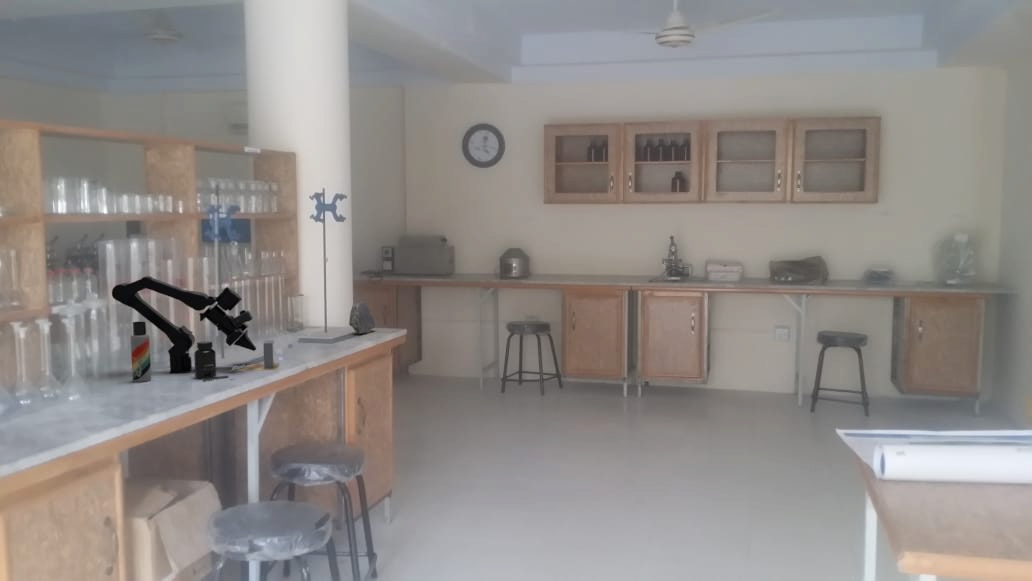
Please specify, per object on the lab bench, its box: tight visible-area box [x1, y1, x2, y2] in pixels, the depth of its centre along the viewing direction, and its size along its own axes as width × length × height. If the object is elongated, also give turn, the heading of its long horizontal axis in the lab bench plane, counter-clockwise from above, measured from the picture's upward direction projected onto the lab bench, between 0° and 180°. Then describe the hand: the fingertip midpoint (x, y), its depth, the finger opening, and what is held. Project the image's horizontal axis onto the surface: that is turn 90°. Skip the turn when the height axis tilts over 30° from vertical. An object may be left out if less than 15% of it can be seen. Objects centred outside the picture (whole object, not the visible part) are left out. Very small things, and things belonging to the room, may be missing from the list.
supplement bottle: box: [193, 340, 217, 380], centre depth 279 cm, size 7×7×12 cm
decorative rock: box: [348, 300, 376, 334], centre depth 374 cm, size 16×7×15 cm, turn 157°
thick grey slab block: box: [262, 339, 276, 369], centre depth 295 cm, size 3×7×9 cm, turn 12°
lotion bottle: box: [130, 321, 152, 383], centre depth 273 cm, size 6×6×20 cm
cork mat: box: [229, 362, 280, 373], centre depth 294 cm, size 16×12×1 cm
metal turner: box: [202, 375, 235, 383], centre depth 277 cm, size 15×6×1 cm, turn 123°
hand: (255, 349), depth 294 cm, fingers closed
